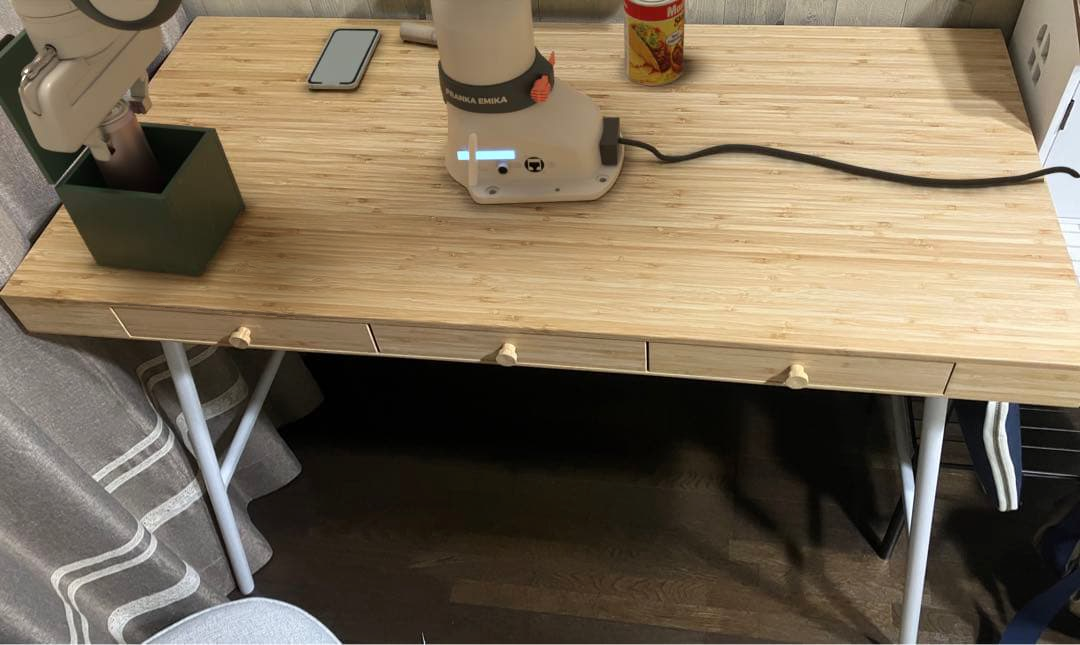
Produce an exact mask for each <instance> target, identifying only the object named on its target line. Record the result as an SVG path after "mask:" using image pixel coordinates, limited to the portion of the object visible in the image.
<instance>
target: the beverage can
mask: <svg viewBox="0 0 1080 645" xmlns="http://www.w3.org/2000/svg"><path fill="white" fill-rule="evenodd" d="M139 122H140V121H139V120H138V117H137V114H136V113H134V111H133V109H132V107H131V106H130V104H129V102H128V100H127V99H125V98H123V97H122V98H121V99H120V101H119V102H118V103H117V104H116V105H115V106H114V108H113V109H112V110H111V111H110V112H109V114H108V115H107V116H106V117H105V118H104V119H103V121H102V122H101V123H100V124H99V125H98V127H97V128H98V130H99V135H98V136H97V137H98V138H99V139H102V140H104V139H109V140H111V141H112V143H113V147H114V148H115V150H116V152H115V153H114V154H113V156H112V157H111V158H110V159H109V161H103V160H98V159H96V158H95V157H94V155H93V153H92V151H91V149H90V147H89V149H90V151H91V153H92V155H93V157H94V159H95V161H96V163H97V165H98V167H99V169H100V171H101V173H102V175H103V177H104V179H105V181H106V183H107V185H108V187H109V189H116V190H126V191H136V192H146V193H156V194H161V193H162V192H163V191H164V189H165V188H166V187H167V183H166V181H165V179H164V176H163V174H162V172H161V170H160V168H159V166H158V163H157V161H156V159H155V157H154V155H153V152H152V150H151V148H150V146H149V144H148V141H147V139H146V137H145V135H144V133H143V130H142V128H141V126H140V124H139Z"/></svg>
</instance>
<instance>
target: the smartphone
mask: <svg viewBox="0 0 1080 645" xmlns="http://www.w3.org/2000/svg"><path fill="white" fill-rule="evenodd" d="M381 36H382V33H381V30H380V28H377V27H338V28H335V29H333V30H332V31H331V33H330V35H329V36H328V38H327V41H326V42H325V45H324V46H323V48H322V50H321V52H320V54H319V56H318V58H317V60H316V62H315V64H314V65H313V67H312V69H311V71H310V73H309V75H308V77H307V79H306V86H307V88H309V89H310V90H311V89H313V90H353V89H355V88H357V87H358V86H359V83H360V81H361V80H362V77H363V75H364V73H365V70H366V68H367V66H368V64H369V61H370V60H371V57H372V55H373V53H374V51H375V49H376V46H377V45H378V42H379V40H380V38H381Z"/></svg>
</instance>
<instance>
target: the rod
mask: <svg viewBox="0 0 1080 645" xmlns="http://www.w3.org/2000/svg"><path fill="white" fill-rule="evenodd" d="M399 38H400V39H401V40H403V41H409V42H416V43H421V44H427V45H433V46H438V44H437V39H436V33H435V27H434V25H429V24H423V23H418V22H414V21H413V22H412V21H408V20H404V21H403V22H401V23H400V26H399Z"/></svg>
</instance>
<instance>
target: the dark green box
mask: <svg viewBox="0 0 1080 645" xmlns="http://www.w3.org/2000/svg"><path fill="white" fill-rule="evenodd" d="M138 122H139V124H140V126H141V128H142V130H143V133H144V135H145V137H146V139H147V141H148V144H149V146H150V148H151V150H152V152H153V155H154V157H155V159H156V161H157V163H158V166H159V168H160V170H161V172H162V174H163V176H164V179H165V181H166V183H167V187H166V188H165V189H164V191H163V192H162V193H161V194H156V193H146V192H136V191H126V190H116V189H109V187H108V185H107V183H106V181H105V179H104V177H103V175H102V173H101V171H100V169H99V167H98V165H97V163H96V161H95V159H94V157H93V155H92V153H91V151H90V149H89V147H86V148H85V150H84V151H83V152H82V153H81V154H80V156H79V157H78V158H77V159H76V160H75V162H74V163H73V164H72V165H71V166H70V168H69V169H68V170H67V171H66V172H65V173H64V175H63V176H62V177H61V178H60V179H59V181H58V182H57V183H56V184H55V185H54V188H53V189H54V191H55V192H56V195H57V196H58V198H59V200H60V202H61V203H62V205H63V206H64V209H65V210H66V212H67V214H68V216H69V217H70V219H71V221H72V223H73V225H74V226H75V228H76V230H77V231H78V234H79V235H80V237H81V239H82V241H83V242H84V245H85V246H86V247H87V249H88V251H89V253H90V255H91V256H92V258H93V260H94V262H95V264H96V265H97V266H104V267H105V266H106V267H113V268H121V269H130V270H137V271H138V270H139V271H146V272H155V273H162V274H172V275H180V276H189V277H198V278H200V277H202V275H203V274H204V272H205V270H206V269H207V267H208V265H209V264H210V262H211V261H212V260H213V258H214V256H215V255H216V253H217V251H218V250H219V248H220V247H221V246H222V244H223V242H224V241H225V239H226V237H227V236H228V234H229V232H230V231H231V229H232V228H233V226H234V225H235V223H236V222H237V220H238V219H239V217H240V215H241V214H242V212H243V211H244V209H245V207H246V203H245V201H244V198H243V196H242V193H241V190H240V187H239V185H238V182H237V181H236V177H235V175H234V173H233V170H232V167H231V165H230V162H229V159H228V157H227V155H226V151H225V149H224V147H223V143H222V141H221V139H220V137H219V133H218V130H217V129H216V127H206V126H195V125H184V124H172V123H171V124H170V123H159V122H147V121H138Z"/></svg>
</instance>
